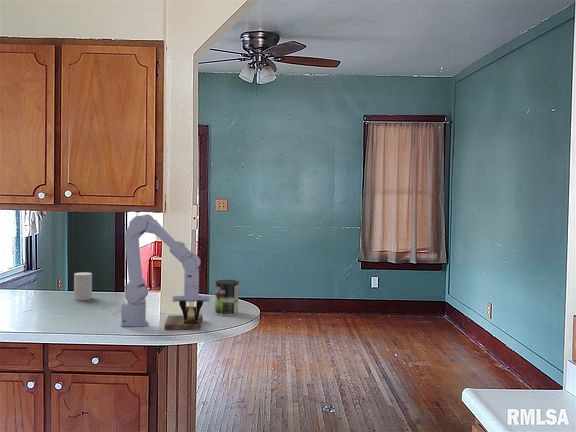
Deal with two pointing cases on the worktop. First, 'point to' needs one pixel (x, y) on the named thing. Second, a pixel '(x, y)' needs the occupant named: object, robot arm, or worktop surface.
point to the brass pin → (191, 315)
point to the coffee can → (226, 297)
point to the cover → (198, 315)
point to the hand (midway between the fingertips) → (191, 319)
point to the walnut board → (181, 323)
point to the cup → (83, 286)
